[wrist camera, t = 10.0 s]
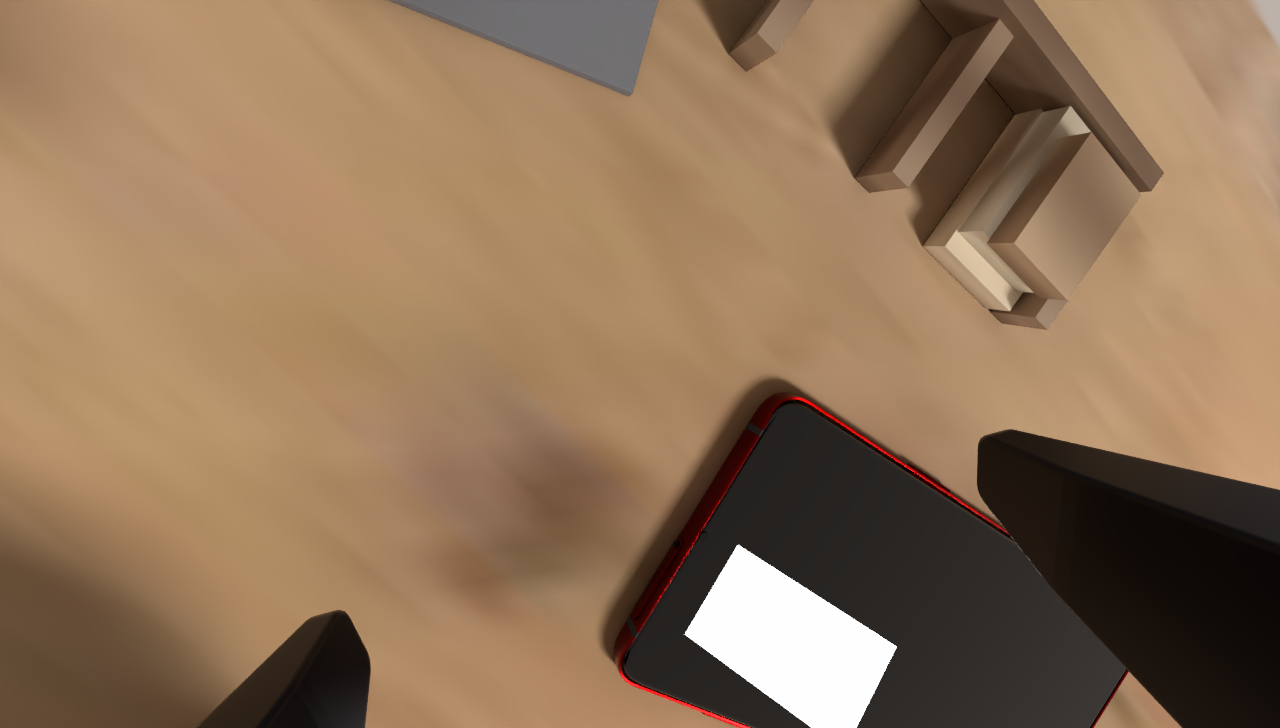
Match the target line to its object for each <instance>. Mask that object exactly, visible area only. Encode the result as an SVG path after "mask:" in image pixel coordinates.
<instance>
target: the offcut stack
mask: <svg viewBox="0 0 1280 728" xmlns="http://www.w3.org/2000/svg"><path fill="white" fill-rule="evenodd" d="M1140 196H1141V194H1140V193H1139V192H1138V190H1137V189H1136V188H1135V186H1134V185H1133V184H1132V183H1131V181H1130V180H1129V179H1128V178H1127V176H1126V175H1125V174H1124V173H1123V171H1122V170H1121V169H1120V167H1119V166H1118V165H1117V164H1116V162H1115V161H1114V160H1113V159H1112V157H1111V156H1110V155H1109V153H1108V152H1107V151H1106V150H1105V148H1104V147H1103V146H1102V145H1101V143H1100V142H1099V141H1098V140H1097V138H1096V137H1095V136H1094V134H1093V133H1092V132H1091V131H1090V130H1089V129H1088V127H1087V126H1086V125H1085V123H1084V122H1083V121H1082V120H1081V118H1080V117H1079V116H1078V115H1077V113H1076V112H1075V111H1074V110H1073V108H1072V107H1071V106H1067V107H1063V108H1059V109H1055V110H1050V111H1046V112H1044V111H1043V110H1042V108H1041V109H1037V110H1032V111H1028V112H1024V113H1020V114H1016V115H1014V117H1013V118H1012V120H1011V121H1010V123H1009V124H1008V125H1007V127H1006V128H1005V130H1004V131H1003V133H1002V134H1001V135H1000V137H999V138H998V140H997V141H996V143H995V144H994V145H993V147H992V148H991V150H990V151H989V153H988V154H987V155H986V157H985V158H984V160H983V161H982V163H981V164H980V165H979V167H978V168H977V170H976V171H975V173H974V174H973V175H972V177H971V178H970V180H969V181H968V183H967V184H966V185H965V187H964V188H963V190H962V191H961V193H960V194H959V195H958V197H957V198H956V200H955V201H954V203H953V204H952V205H951V207H950V208H949V210H948V211H947V213H946V214H945V215H944V217H943V218H942V220H941V221H940V223H939V224H938V225H937V227H936V228H935V230H934V231H933V233H932V234H931V235H930V237H929V238H928V240H927V241H926V243H925V244H924V245H923V247H924V248H925V249H926V250H927V251H928V252H929V253H930V254H931V255H932V256H933V257H934V258H935V259H936V260H937V261H938V262H939V263H940V264H941V265H942V266H943V267H944V268H945V269H946V270H947V271H948V272H949V273H950V274H951V275H952V276H953V277H955V278H956V279H957V280H958V281H959V282H960V283H961V284H962V285H963V286H964V287H965V288H966V289H967V290H968V291H969V292H970V293H971V294H972V295H973V296H974V297H975V298H976V299H977V300H978V301H979V302H980V303H981V304H982V305H983V306H984V307H985V308H986V309H994V310H1003V311H1010V310H1011V309H1012V307H1013V306H1014V304H1015V303H1016V302H1017V300H1018V299H1019V297H1020V296H1021V294H1022V293H1023V292H1030V293H1035V295H1036V296H1037V297H1038V298H1044V299H1055V300H1066V301H1068V300H1069V298H1070V297H1071V295H1072V294H1073V292H1074V291H1075V290H1076V288H1077V287H1078V285H1079V284H1080V282H1081V281H1082V279H1083V278H1084V277H1085V275H1086V274H1087V272H1088V271H1089V269H1090V268H1091V267H1092V265H1093V264H1094V262H1095V261H1096V259H1097V258H1098V257H1099V255H1100V254H1101V252H1102V251H1103V249H1104V248H1105V246H1106V245H1107V244H1108V242H1109V241H1110V239H1111V238H1112V236H1113V235H1114V234H1115V232H1116V231H1117V229H1118V228H1119V226H1120V225H1121V223H1122V222H1123V221H1124V219H1125V218H1126V216H1127V215H1128V213H1129V212H1130V211H1131V209H1132V208H1133V206H1134V205H1135V203H1136V202H1137V201H1138V199H1139V198H1140Z"/></svg>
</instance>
